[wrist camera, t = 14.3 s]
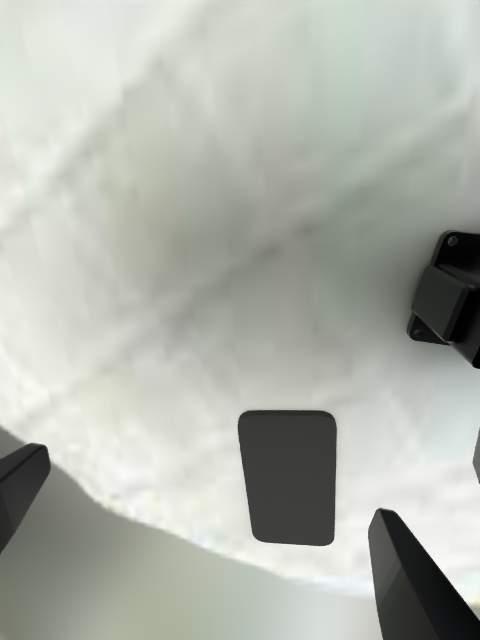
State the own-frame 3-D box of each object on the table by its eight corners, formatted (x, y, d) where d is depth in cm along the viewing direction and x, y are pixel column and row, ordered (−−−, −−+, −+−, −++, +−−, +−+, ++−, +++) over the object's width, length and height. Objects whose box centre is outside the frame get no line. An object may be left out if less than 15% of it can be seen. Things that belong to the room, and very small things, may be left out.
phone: (252, 542, 29) (234, 415, 23) (253, 532, 30) (236, 408, 24) (334, 547, 28) (337, 415, 22) (333, 537, 29) (335, 407, 23)
